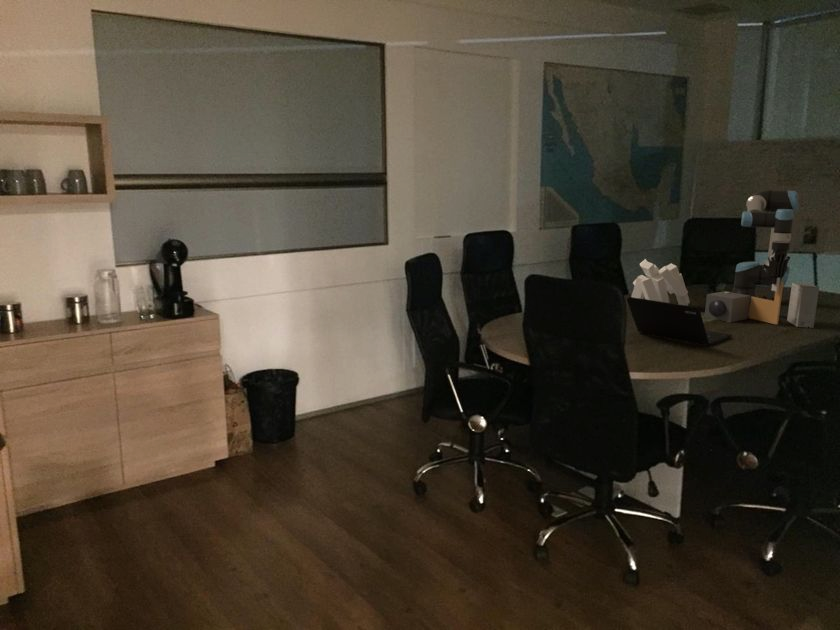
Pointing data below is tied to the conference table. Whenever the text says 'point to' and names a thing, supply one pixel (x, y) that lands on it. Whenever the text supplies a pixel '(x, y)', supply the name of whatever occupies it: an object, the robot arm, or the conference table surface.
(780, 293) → the bent orange bar
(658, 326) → the laptop
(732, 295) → the grey box with knob
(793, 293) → the hard drive box
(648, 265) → the pile of blocks
